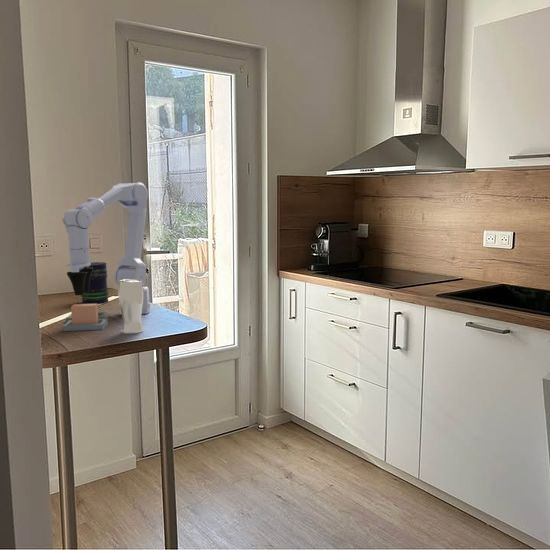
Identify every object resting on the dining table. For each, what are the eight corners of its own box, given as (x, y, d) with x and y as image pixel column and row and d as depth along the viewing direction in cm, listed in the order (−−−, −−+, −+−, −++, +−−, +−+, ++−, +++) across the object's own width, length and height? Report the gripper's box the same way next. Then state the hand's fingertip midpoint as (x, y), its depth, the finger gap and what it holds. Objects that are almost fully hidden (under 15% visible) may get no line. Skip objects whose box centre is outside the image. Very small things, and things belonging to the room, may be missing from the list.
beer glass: (135, 327, 167) (132, 278, 165) (149, 330, 163) (147, 280, 161) (115, 332, 162) (112, 281, 160) (129, 335, 158) (127, 282, 156)
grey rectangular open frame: (108, 316, 186) (108, 311, 186) (103, 321, 178) (103, 316, 178) (72, 317, 184) (72, 313, 184) (66, 322, 177) (66, 317, 176)
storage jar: (101, 304, 208) (99, 265, 206) (76, 304, 210) (74, 265, 208) (113, 300, 218) (111, 262, 216) (89, 300, 219) (87, 262, 218)
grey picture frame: (107, 323, 174) (107, 319, 173) (102, 329, 166) (102, 324, 166) (69, 325, 172) (69, 320, 172) (62, 331, 164) (62, 326, 164)
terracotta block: (98, 325, 171) (97, 303, 170) (96, 328, 168) (95, 305, 167) (75, 326, 170) (73, 304, 170) (72, 329, 167) (71, 306, 166)
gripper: (71, 247, 176) (73, 289, 178) (59, 251, 162) (62, 297, 163) (94, 246, 177) (96, 289, 178) (84, 250, 162) (87, 296, 164)
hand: (82, 293), depth 171 cm, fingers open, 7 cm apart
